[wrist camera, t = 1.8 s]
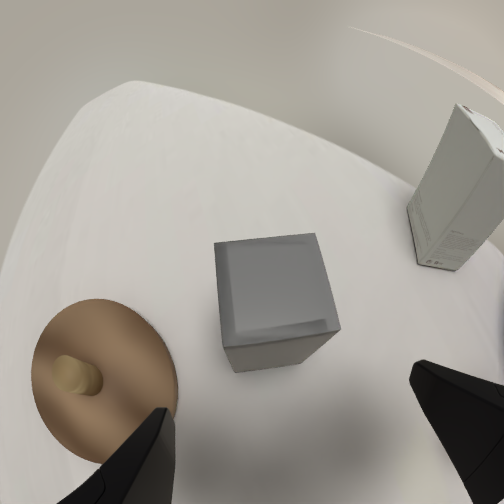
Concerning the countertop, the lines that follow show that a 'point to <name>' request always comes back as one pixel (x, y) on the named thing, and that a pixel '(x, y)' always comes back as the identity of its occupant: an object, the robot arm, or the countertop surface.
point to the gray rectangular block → (273, 301)
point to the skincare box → (459, 192)
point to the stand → (100, 376)
